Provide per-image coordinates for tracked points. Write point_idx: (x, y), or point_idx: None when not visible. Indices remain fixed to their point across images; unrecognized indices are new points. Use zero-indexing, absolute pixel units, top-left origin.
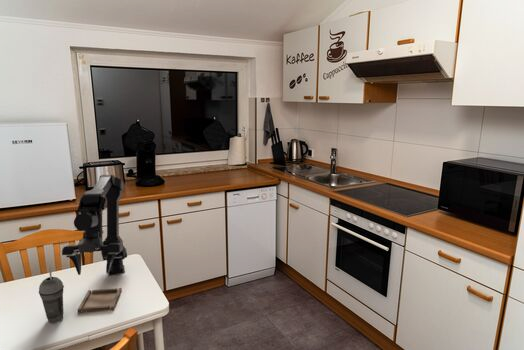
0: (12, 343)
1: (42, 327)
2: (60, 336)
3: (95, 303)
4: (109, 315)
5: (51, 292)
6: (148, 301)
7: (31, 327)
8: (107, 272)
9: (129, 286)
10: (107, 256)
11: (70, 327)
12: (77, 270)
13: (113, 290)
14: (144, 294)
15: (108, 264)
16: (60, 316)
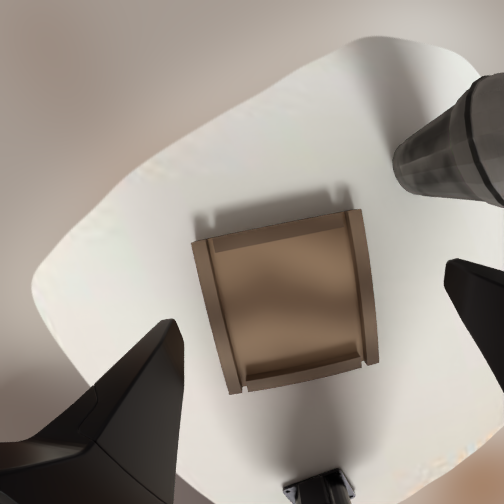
0: (453, 57)
1: (430, 121)
2: (335, 67)
3: (307, 281)
4: (200, 204)
5: (488, 78)
6: (86, 316)
7: None
8: (160, 323)
9: (216, 419)
10: (35, 460)
11: (331, 115)
12: (487, 270)
13: (261, 377)
14: None
15: (110, 380)
16: (401, 151)
